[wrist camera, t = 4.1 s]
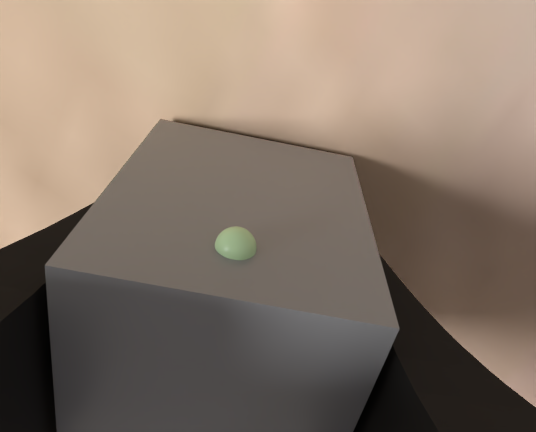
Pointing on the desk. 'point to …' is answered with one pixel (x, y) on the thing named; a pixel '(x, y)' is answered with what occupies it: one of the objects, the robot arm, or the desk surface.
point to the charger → (219, 292)
